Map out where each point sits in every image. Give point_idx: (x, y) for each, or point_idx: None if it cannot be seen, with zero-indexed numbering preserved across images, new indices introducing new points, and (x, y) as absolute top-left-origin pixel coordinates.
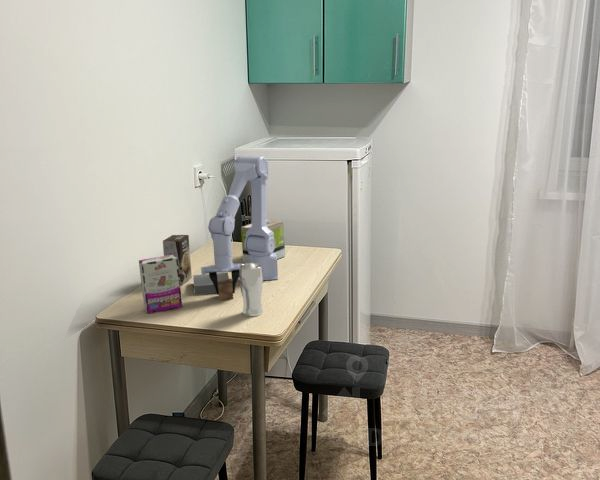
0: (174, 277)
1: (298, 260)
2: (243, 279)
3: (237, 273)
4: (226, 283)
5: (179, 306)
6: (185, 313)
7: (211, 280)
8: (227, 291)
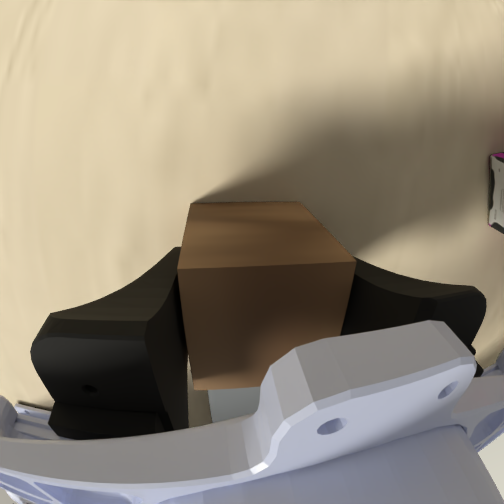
0: None
1: None
2: None
3: (58, 356)
4: (256, 265)
5: (501, 154)
6: (481, 67)
7: None
8: (239, 224)
